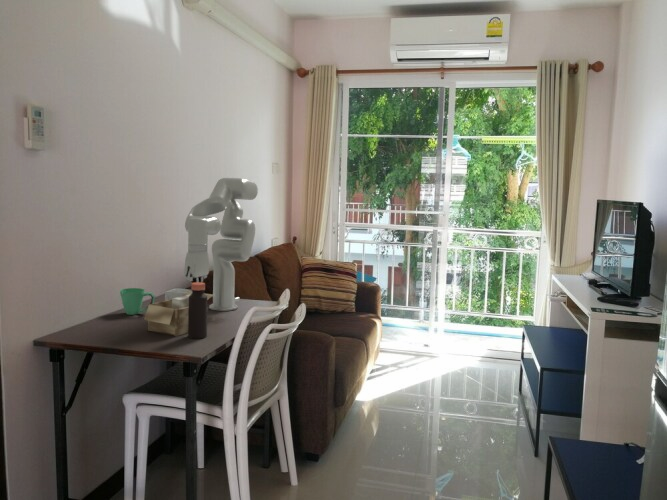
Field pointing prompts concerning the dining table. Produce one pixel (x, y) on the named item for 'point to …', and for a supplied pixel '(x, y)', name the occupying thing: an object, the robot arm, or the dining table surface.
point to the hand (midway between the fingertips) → (197, 293)
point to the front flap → (159, 314)
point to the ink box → (175, 293)
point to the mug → (134, 300)
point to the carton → (173, 317)
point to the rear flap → (205, 294)
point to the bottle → (197, 311)
